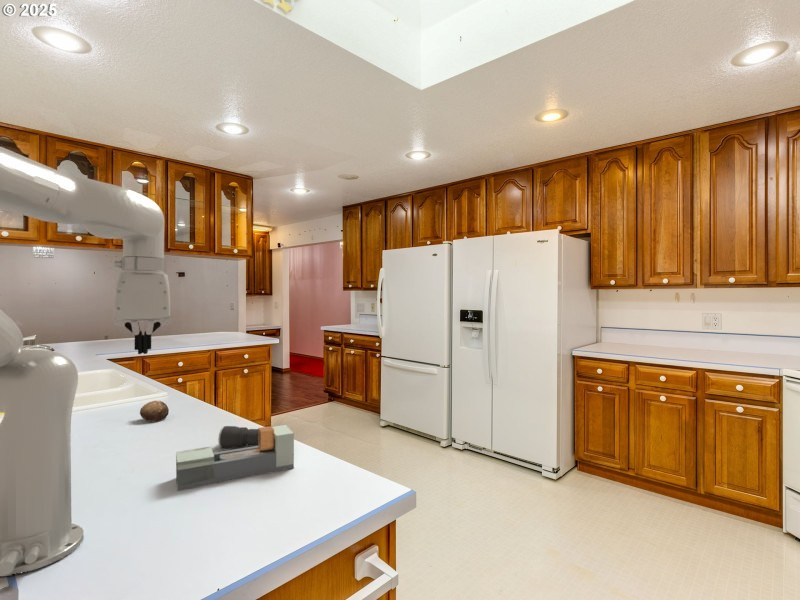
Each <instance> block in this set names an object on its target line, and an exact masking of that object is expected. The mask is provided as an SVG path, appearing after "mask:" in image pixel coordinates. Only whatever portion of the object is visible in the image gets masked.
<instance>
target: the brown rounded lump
mask: <svg viewBox="0 0 800 600" xmlns="http://www.w3.org/2000/svg"><path fill="white" fill-rule="evenodd" d="M169 410H170V409H169V406H168V405H167V404H166V403H165V402H164V401H161V400H152V401H148V402H147V403H145V404H144V405H143V406H141V408H140V411H139V415H140V417H141V418H142V419H143V420H145V422H150V423H157V422H161V421H163V420H166V418H167V417H168V415H169Z"/></svg>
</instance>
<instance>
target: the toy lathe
mask: <svg viewBox="0 0 800 600" xmlns="http://www.w3.org/2000/svg"><path fill="white" fill-rule="evenodd" d="M272 428H273V429H274V446H275V451H274V452H269V453H263V454H257V455H251V456H245V457H239V458H234V459H228V460H222V461H219V455H223V454H229V453H235V452H241V451H247V450H253V449H259V447H258V446H248V447H247V446H246V447H240V448H235V449H230V450H223V451H217V452H213V448H212V446H206V447H205V446H204V447H199V448H191V449H185V450H179V451H176V452H175V459H176V460H175V461H176V462H175V464H176V468H175V478H176V487H177V488H176V489H177V492H179V491H184V490H189V489H193V488H199V487H204V486H209V485H215V484H219V483H220V484H221V483H224V482H230V481H234V480H235V481H236V480H241V479H245V478H250V477H256V476H261V475H266V474H271V473H276V472H281V471H287V470H292V469H294V468H295V467H294V466H295V465H294V463H295V456H294V455H295V439H294V438H295V437H294V436H295V432H294V431H292V430H291V429H290V427H289V426H288V425H287V424H284V425H283V424H282V425H276V426H272Z"/></svg>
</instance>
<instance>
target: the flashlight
mask: <svg viewBox="0 0 800 600" xmlns="http://www.w3.org/2000/svg"><path fill="white" fill-rule="evenodd" d="M218 445H219V448H220V449H221V448H223V449H224V448H225V449H227V448H228V449H229V448H230V449H233V448H236V447H237V448H246V447H247V446H248V447H253V446H258V428H250V429H249V428H248V427H244V426H243V427H242V426H241V427H240V426H237V425H235V426H234V425H223V426H221V428H220V430H219V433H218Z"/></svg>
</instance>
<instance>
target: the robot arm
mask: <svg viewBox="0 0 800 600" xmlns="http://www.w3.org/2000/svg"><path fill="white" fill-rule="evenodd" d="M0 210H3V211H8V212H11V213H14V214H18V215H22V216H26V217H29V218H32V219H36V220H39V221H43V222H48V223H57V224H63V225H78V226H79V225H82V227H83V228H84V229H85V230H86V231H87V232H88V233H89V234H91V235H93V236H94V237H97V238H101V239H108V240H109V239H110V240H111V239H112V240H113V239H115V240H118V239H119V240H122V258H121V259H119V260H114V268H120V269H122V272H117V277H116V282H115V288H114V300H113V303H114V304H113V315H114V318H113V322H112V324H113V326H114V327H115V326H116V327H121V328H126V329H127V330H128V331H130V332H131V333H132V334H133V335H134V350H135V351H137V355H142V354H144V355H147V354H148V352H149V351H148V350H152V335H153V333H154V332H156V330H158V329H160V327H161V328H162V327H165V326H170V325H171V324H172V322H173V321H172V318H171V289H170V280H169V276H168V274H167V273H165V268H164V266H165V215H164V212H163V211H162V209H161V208H160V206H159V204H157V203H156V202H155V201H154V200H152V199H151V198H149V197H147V196H145V195H143V194H141V193H139V192H137V191H134V190H131V189H129V188H127V187H123V186H119V185H116V184H112V183H107V182H103V181H100V180H96V179H92V178H91V179H90V178H88V177H84V176H80V175H75V174H71V173H67V172H63V171H60V170H57V169H55V168H53V167H50V166H47V165H45V164H43V163H41V162H38V161H36V160H33V159H31V158H29V157H26V156H24V155H23V154H22V155H21V154H20V153H16V152H15V151H12V150H10V149H7V148H5V147H4V146H0ZM140 321H147V324H146V328H145V331H144V333H143V332H142V330H141V325H140ZM23 346H24V336H23V334H22V332H21V329H20V327H18V325H17V324H16V323H15V321H14V320H13V319H12V318H11V317H10V316H9V315H7V314H6V313H5V312H4V311H3V310H2V309H1V308H0V413H4V415H3V418H2V420H1V422H0V577H8V576H9V577H10V576H13V575H12V574H15V575H17V574H16V573H21V572H25V573H28V572H31V571H35V570H37V569H40V568H44V567H46V566H48V565H51V564H53V563H55V562H58V561H59V560H61V559H63V558H64V557H66V556H68V555H69V554H71V553H72V552H73V551H75V550H76V549H77V548H78V547H79V546H80V545H81V543H82V542H83V540H84V530H83V527H81V526H80V525H78V524H75V523H72V457H71V456H72V453H71V452H72V448H71V447H72V446H71V442H72V440H71V438H72V437H71V434H72V433H71V432H72V431H71V429H72V428H71V425H72V414H73V407H74V403H75V398H76V397H75V396H76V393H77V389H78V384H79V374H78V373H79V372H78V370H77V367H76V364H75V363H74V362H73V361H72V360H71V359H70V358H69V357H68V356H66V355H64V354H63V353H59V352H55V351H51V350H45V349H44V350H43V349H23ZM27 571H28V572H27ZM21 574H22V573H21Z"/></svg>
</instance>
